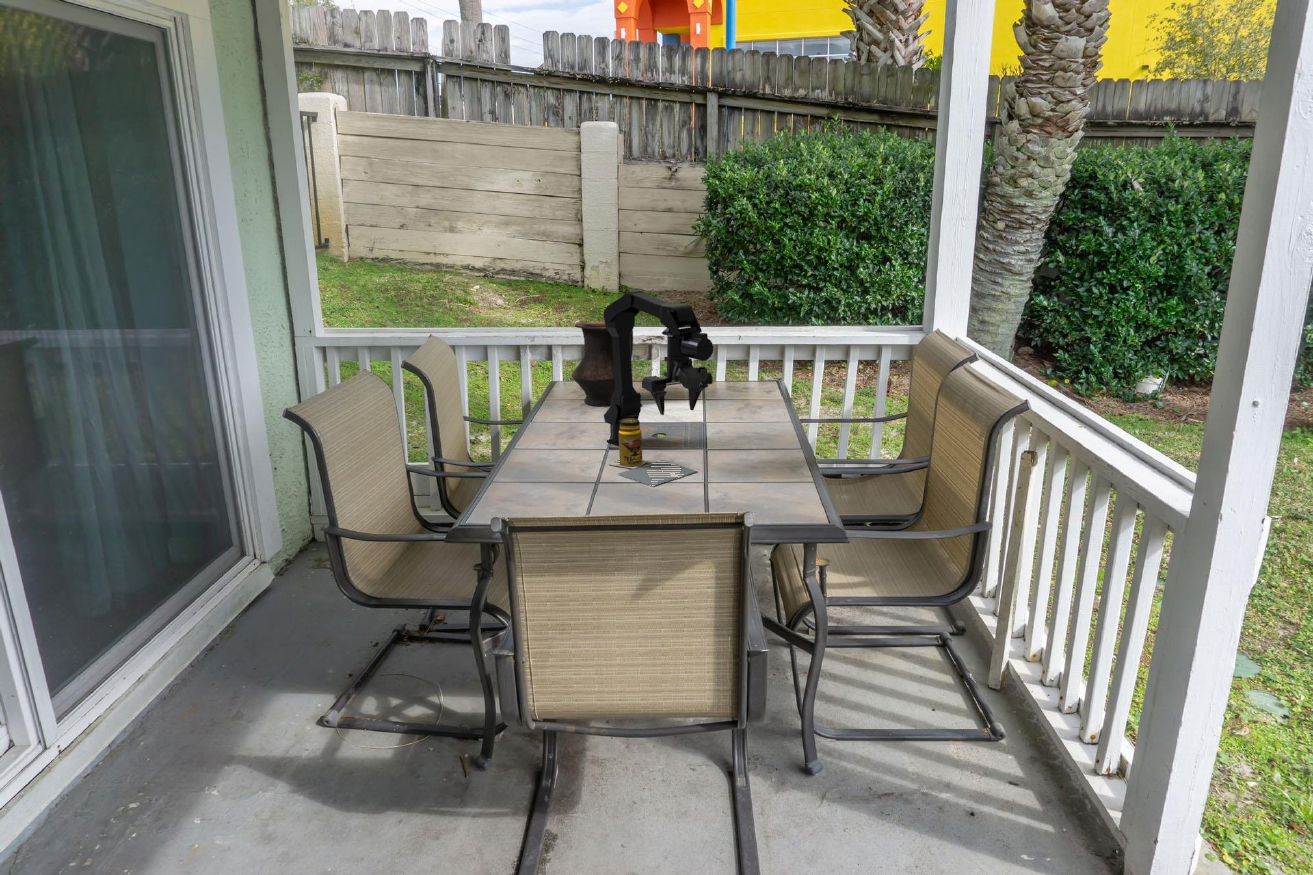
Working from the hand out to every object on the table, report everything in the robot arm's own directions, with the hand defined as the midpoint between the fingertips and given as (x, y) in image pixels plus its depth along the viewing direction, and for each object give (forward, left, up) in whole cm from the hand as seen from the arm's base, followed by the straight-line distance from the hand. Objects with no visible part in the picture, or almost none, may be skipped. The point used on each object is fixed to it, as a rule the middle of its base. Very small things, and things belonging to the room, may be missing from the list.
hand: (677, 412), depth 234 cm
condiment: (-8, -10, -14) cm, 19 cm away
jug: (-62, +28, -14) cm, 70 cm away
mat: (+3, -10, -14) cm, 17 cm away
